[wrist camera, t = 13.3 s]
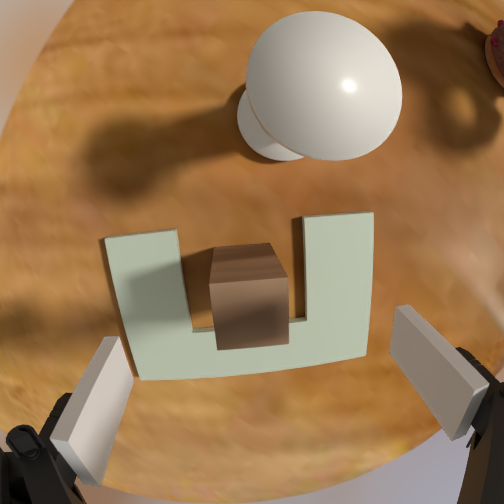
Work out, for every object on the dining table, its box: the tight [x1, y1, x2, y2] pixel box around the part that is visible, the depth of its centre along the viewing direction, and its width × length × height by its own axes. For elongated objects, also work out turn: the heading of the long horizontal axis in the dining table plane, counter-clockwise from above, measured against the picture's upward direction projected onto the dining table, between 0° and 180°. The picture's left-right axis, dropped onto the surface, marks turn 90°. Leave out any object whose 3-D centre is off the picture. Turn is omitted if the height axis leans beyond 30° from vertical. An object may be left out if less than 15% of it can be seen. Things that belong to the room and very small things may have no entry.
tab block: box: [209, 243, 289, 351], centre depth 23 cm, size 4×4×8 cm
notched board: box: [105, 211, 374, 380], centre depth 27 cm, size 14×22×1 cm, turn 95°
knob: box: [237, 11, 402, 161], centre depth 17 cm, size 7×7×12 cm
